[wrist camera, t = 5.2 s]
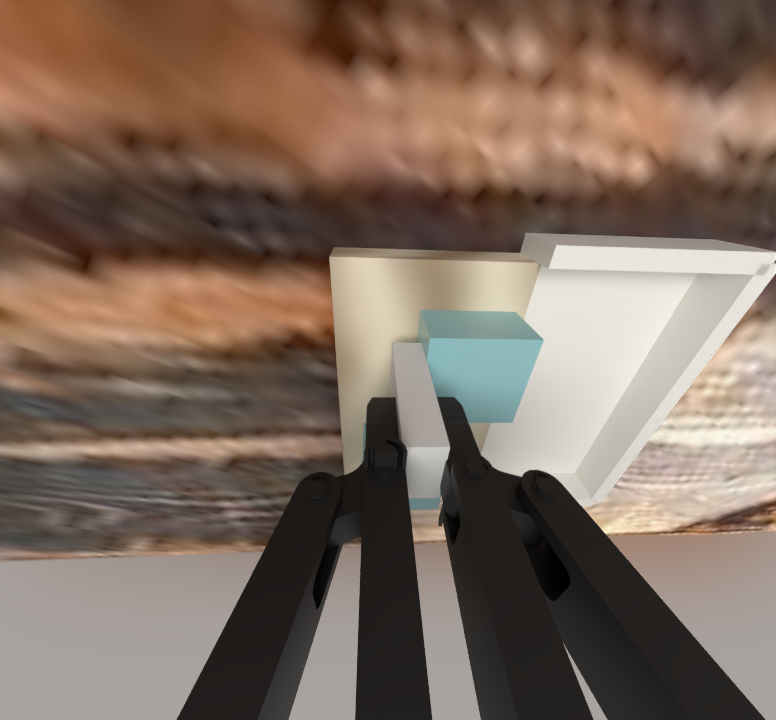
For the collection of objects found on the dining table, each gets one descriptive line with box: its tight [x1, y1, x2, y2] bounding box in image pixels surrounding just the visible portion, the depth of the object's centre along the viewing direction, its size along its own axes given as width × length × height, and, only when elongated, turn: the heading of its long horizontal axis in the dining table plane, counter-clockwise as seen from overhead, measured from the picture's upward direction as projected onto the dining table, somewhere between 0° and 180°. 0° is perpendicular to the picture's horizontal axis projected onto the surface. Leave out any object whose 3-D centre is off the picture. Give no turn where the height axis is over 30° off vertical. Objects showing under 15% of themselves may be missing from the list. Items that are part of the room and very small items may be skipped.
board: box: [330, 247, 541, 475], centre depth 19 cm, size 10×18×2 cm, turn 178°
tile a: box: [417, 310, 544, 423], centre depth 15 cm, size 5×5×3 cm
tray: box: [481, 233, 776, 506], centre depth 19 cm, size 11×20×3 cm, turn 178°
